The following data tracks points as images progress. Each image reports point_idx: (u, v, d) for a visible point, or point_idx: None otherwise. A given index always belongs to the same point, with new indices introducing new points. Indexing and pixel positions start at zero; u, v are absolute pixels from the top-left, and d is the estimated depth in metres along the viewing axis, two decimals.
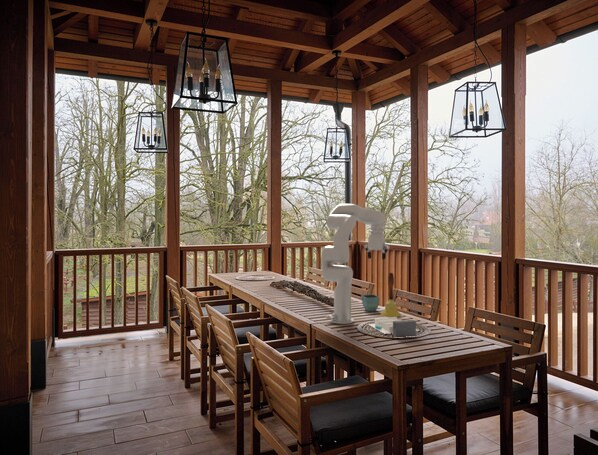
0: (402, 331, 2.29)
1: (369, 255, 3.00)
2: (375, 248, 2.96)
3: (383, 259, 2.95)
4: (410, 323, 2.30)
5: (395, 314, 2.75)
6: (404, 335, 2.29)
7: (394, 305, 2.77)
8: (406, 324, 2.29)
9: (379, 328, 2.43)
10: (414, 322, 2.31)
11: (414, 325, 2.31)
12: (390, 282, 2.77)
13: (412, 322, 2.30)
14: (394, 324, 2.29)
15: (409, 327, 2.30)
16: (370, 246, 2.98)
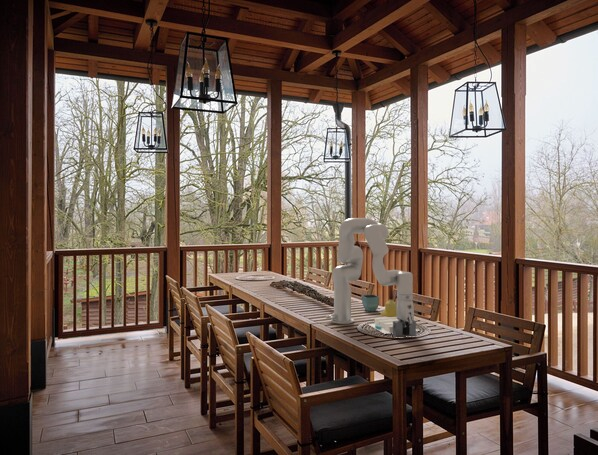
0: (402, 331, 2.29)
1: None
2: None
3: None
4: None
5: (395, 314, 2.75)
6: (404, 335, 2.29)
7: (394, 305, 2.77)
8: None
9: (379, 328, 2.43)
10: (414, 322, 2.31)
11: (414, 325, 2.31)
12: None
13: (412, 322, 2.30)
14: (394, 324, 2.29)
15: None
16: None
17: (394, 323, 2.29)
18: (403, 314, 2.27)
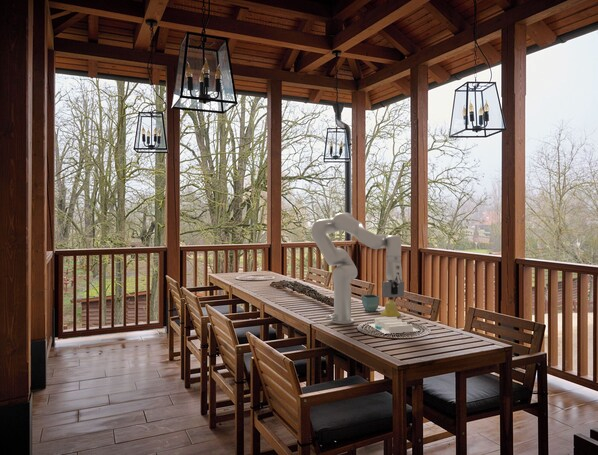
0: (390, 290, 2.44)
1: None
2: None
3: None
4: None
5: (395, 314, 2.75)
6: (393, 294, 2.44)
7: (394, 305, 2.77)
8: None
9: (379, 328, 2.43)
10: (402, 282, 2.46)
11: (402, 285, 2.46)
12: None
13: (400, 282, 2.45)
14: (383, 284, 2.44)
15: None
16: None
17: (383, 283, 2.44)
18: (392, 274, 2.42)
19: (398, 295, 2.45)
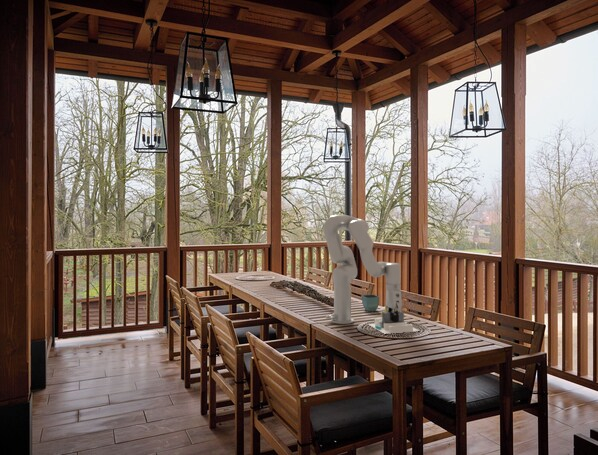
0: (390, 321, 2.45)
1: None
2: None
3: None
4: None
5: None
6: None
7: None
8: None
9: (379, 328, 2.43)
10: (402, 313, 2.47)
11: (402, 316, 2.47)
12: None
13: (400, 313, 2.46)
14: (383, 315, 2.45)
15: None
16: None
17: (383, 314, 2.45)
18: (391, 302, 2.43)
19: None
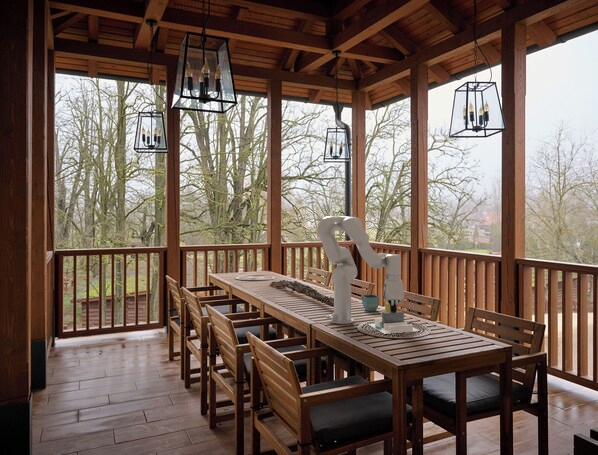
0: (390, 321, 2.45)
1: None
2: (396, 297, 2.44)
3: (395, 312, 2.46)
4: (398, 314, 2.46)
5: None
6: None
7: None
8: (394, 315, 2.45)
9: (379, 328, 2.43)
10: (402, 313, 2.47)
11: (402, 316, 2.47)
12: None
13: (400, 313, 2.46)
14: (383, 315, 2.45)
15: (397, 318, 2.46)
16: (390, 296, 2.43)
17: (383, 314, 2.45)
18: None
19: None
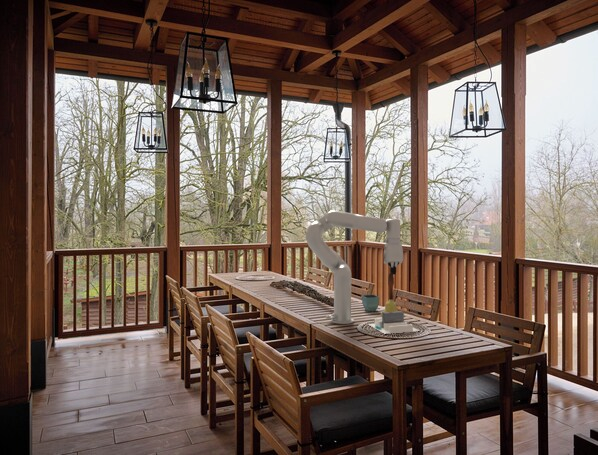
0: (390, 321, 2.45)
1: None
2: (396, 260, 2.56)
3: None
4: (398, 313, 2.46)
5: None
6: None
7: (394, 305, 2.77)
8: (394, 315, 2.45)
9: (379, 328, 2.43)
10: (402, 313, 2.47)
11: (402, 316, 2.47)
12: (390, 282, 2.77)
13: (400, 313, 2.46)
14: (383, 315, 2.45)
15: (397, 318, 2.46)
16: (390, 258, 2.55)
17: (383, 314, 2.45)
18: None
19: None
